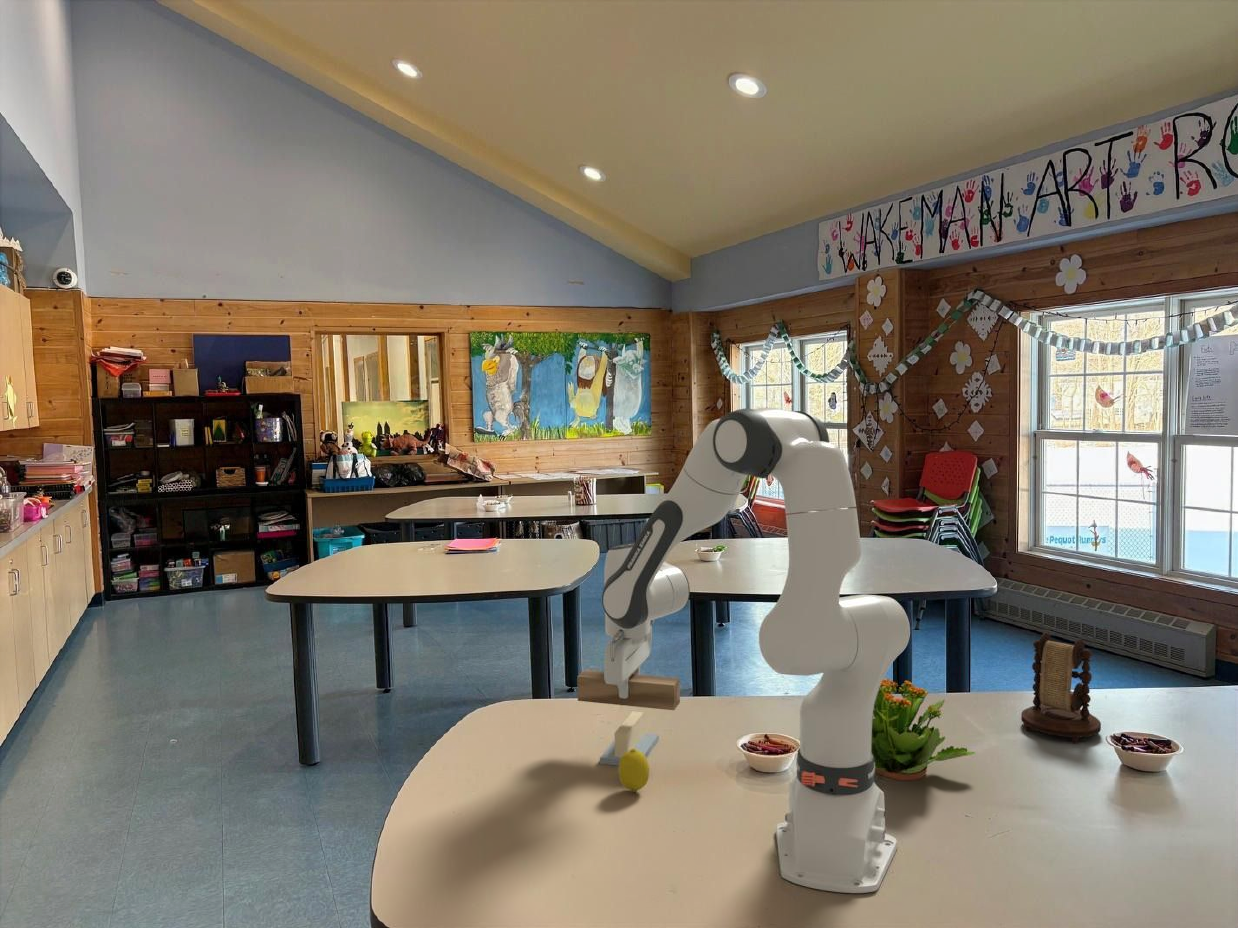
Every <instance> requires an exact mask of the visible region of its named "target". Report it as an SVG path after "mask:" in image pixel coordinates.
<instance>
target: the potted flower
mask: <svg viewBox="0 0 1238 928" xmlns="http://www.w3.org/2000/svg"><path fill="white" fill-rule="evenodd" d="M903 682H904V683H902V684H901V685H900V686H901V687H898V686H899V685H898V683H897V682H896V681H893V680H890V679H889V678H888V677H886V678H885V677H884V678H883V681H882V683H881V685H880V688H879V691H878V694H877V697H876V700H875V704H874V709H873V719H872V749H871V753H872V754H873V756H874V763H875V773H878V774H879V775H881V776H883V777H885V778H889V779H892V780H897V781H898V780H899V781H910V780H919V779H920V778H922V777H924V776H925V775H926V773H927V769H928V765H929V764H931V763H933V762H935V761H938V762H941V761H947V760H951V759H957V758H961V757H965V756H969V755H970V756H971V755H975V754H976V752H975V751H968V749H967V748H966V747H960V748H959V747H955V748H954V745H950V746H949V747H946V748H941V750H940V751H937V754H936V755H933V754H934V753H935V751H936V749H937V747H938V746H939V745H940V744H942V743H943V742H944V741H945V738H946V736H942V737H940V735H941V734H940V729H939V727H936V728H935V726H932V727H929V724H930V723H931V721H932V720H934V719H935V718H938V719H941V717H940V716H941V715H942V712H941V711H942V709H941V708H942V707H943V705H944V704H945V701H946V699H945V698H944V699H942V700H939V701H937V702H936V703H933V704H929V705H928V707H927V709H926V710H925V712H923V715H919V717H918V720H917V723H913V721H914V720H915V718H916V717H917V715H918V712H919V710H920V707H921V705H922V704H923V703H924V701H925V699H926V697H927V696H928V694H929V693H930V691H928V690H927V689H925V688H923V687H917V686H914V684H913V683H912V682H910V681H909V680H904V681H903ZM897 687H898V692H899V693H900V695H901V696H902V698H900V697H899V698H896V697H895V695H894V693H893V692H895V693H896V692H897ZM927 720H928V722H927ZM925 722H927V723H926V725H924V726H922V725H923V724H924V723H925ZM911 726H912V727H911ZM921 726H922V727H921ZM910 727H911V729H910Z"/></svg>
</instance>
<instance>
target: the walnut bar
mask: <svg viewBox="0 0 1238 928" xmlns="http://www.w3.org/2000/svg"><path fill="white" fill-rule="evenodd" d="M576 678H577V679H576V681H577V684H576V685H577V686H576V687H577V702H578V701H579V702H585V703H594V704H606V705H614V706H615V705H617V706H626V707H627V706H628V707H636V708H646V709H657V710H665V711H666V710H667V711H675V710H676V709H677V707H678V706H679V705H680V703H681V684H680V681H681V680H680V679H681V678H680V677H674V676H673V677H672V676H661V675H660V676H659V675H651V674H650V675H648V674H640V673H639V674H632V675H631V676H630V677H629V678H628V687H629V688H630V695H629V696H628V697H627V698H620V697H619V689H618V686H617V685H613V684H607V683H606V682H605V679H604V670H592V669H584V670H582V672H581V673H579V675H577V677H576Z"/></svg>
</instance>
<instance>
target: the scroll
mask: <svg viewBox="0 0 1238 928" xmlns="http://www.w3.org/2000/svg"><path fill="white" fill-rule="evenodd" d="M1032 646H1033V648H1034V650H1033V651H1034V652H1035V654H1034V657H1033V660H1034V661H1033V662H1032V665H1031V669H1032V670H1033V673H1034V678H1033V682H1034V683H1033V684H1032V690H1033V691H1034V692H1033V695H1034V697H1033V700H1032V703H1033V705H1032V706H1030V707H1027V708H1025V709H1023V710H1022V712H1021V713H1020V716H1021V718H1020V719H1021V722H1022V723H1023V724H1024V728H1025V730H1026V731H1028V732H1029V731H1030V729H1032V730H1034V731H1038V732H1040V733H1044V734H1046V735H1047V734H1048V735H1051V736H1055V737H1056V736H1057V737H1066V738H1071V740H1072V742H1073V743H1074V744H1076V743H1078V740H1079V738H1085V737H1086V738H1087V737H1092V736H1096V735H1098V734H1099V733H1100V732H1101V731H1102V726H1101V725H1102V724H1101V721H1100V720H1099V718H1097V717H1096V716H1095V715H1093V714H1092V713H1090V711H1089V707H1090V702H1091V699H1092V698H1091V696H1090V695H1089V693H1090V686H1089V684H1090V682H1091V681H1092V677H1093V675H1092V673H1091V672H1090V671H1091V667H1090V666H1091V665H1090V662H1091V659H1090V658H1091V657H1092V655H1093V654H1092V652H1091V650H1090V649H1088V648H1086V646H1085V642H1084V641H1083V639H1082V638H1078V639H1076V640H1075V642H1074V644H1073V645H1072V644H1068V643H1064V642H1063V643H1062V642H1057V641H1052V638H1051V634H1050V633H1049V632H1044V633H1042V635H1041V636H1040V639H1036V640H1034V641H1033V643H1032ZM1081 664H1082V665H1081ZM1080 666H1081V670H1082V671H1081V672H1078V671H1076V670H1077V669H1079V667H1080ZM1072 678H1073V679H1079V680H1080V681H1081V682H1078V683H1077V684H1076V685H1075V686H1074V688H1073V691H1072Z"/></svg>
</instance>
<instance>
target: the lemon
mask: <svg viewBox="0 0 1238 928" xmlns="http://www.w3.org/2000/svg"><path fill="white" fill-rule="evenodd" d="M649 777H650V765H649V761H648V757H647V758H646V757H645V755H644V754H643V753H642V752H640V751H638V750H636V749H631V750H630V751H627V752H626V753H625V754H624V755H623V756H622V757H621V760H620V763H619V766H618V778H619V781H620V783H621V785H623V787H625V788H626V789H628V790H629V791H631V792H632V793H636V792H637V791H639V790H641V789H642V788H644V787H645V785H646V784H647V783H648V781H649Z"/></svg>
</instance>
